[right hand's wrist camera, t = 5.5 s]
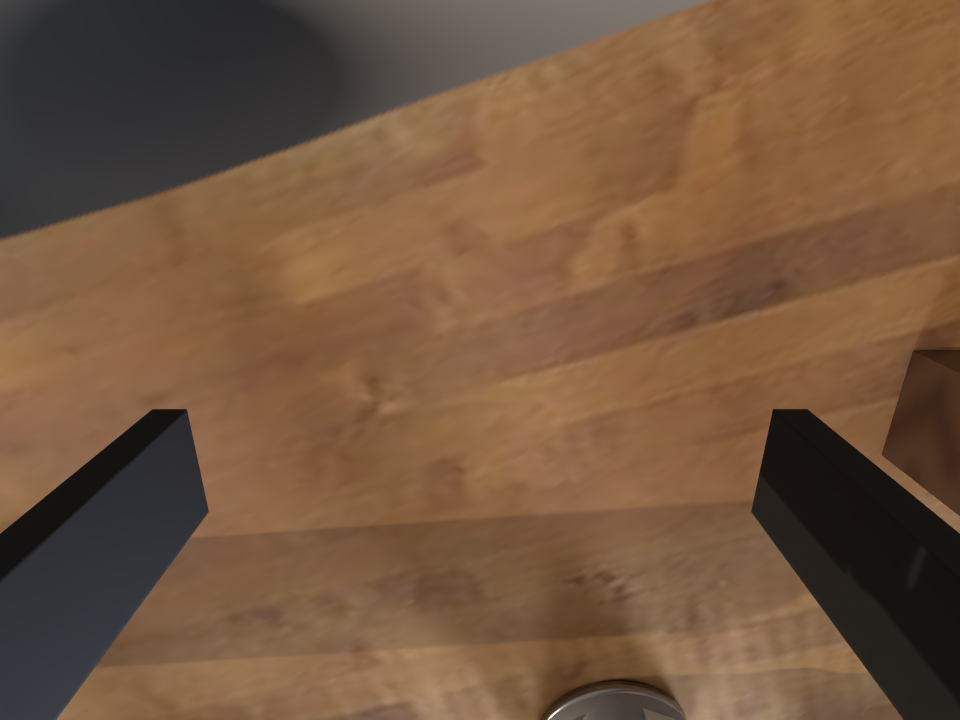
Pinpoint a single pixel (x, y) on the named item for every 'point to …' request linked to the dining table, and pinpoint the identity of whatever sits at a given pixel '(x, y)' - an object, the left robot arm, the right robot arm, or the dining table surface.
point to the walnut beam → (929, 425)
